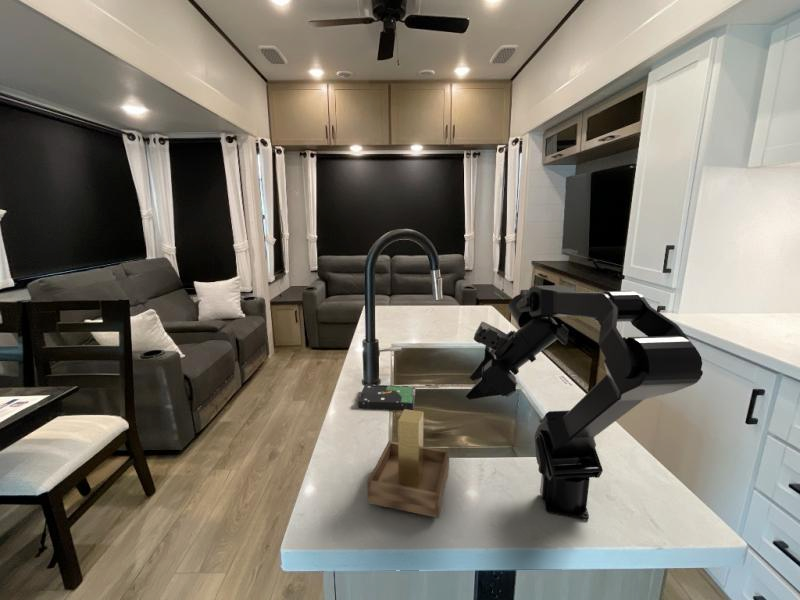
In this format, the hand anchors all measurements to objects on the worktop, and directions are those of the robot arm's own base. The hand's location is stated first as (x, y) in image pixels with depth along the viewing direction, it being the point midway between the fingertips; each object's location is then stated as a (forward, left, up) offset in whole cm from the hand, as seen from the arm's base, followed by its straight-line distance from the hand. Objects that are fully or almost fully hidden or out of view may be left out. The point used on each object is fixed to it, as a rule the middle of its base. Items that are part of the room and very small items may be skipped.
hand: (469, 387), depth 74 cm
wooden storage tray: (+9, +16, -14) cm, 23 cm away
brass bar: (+9, +16, -11) cm, 21 cm away
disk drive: (+23, -16, -14) cm, 31 cm away
